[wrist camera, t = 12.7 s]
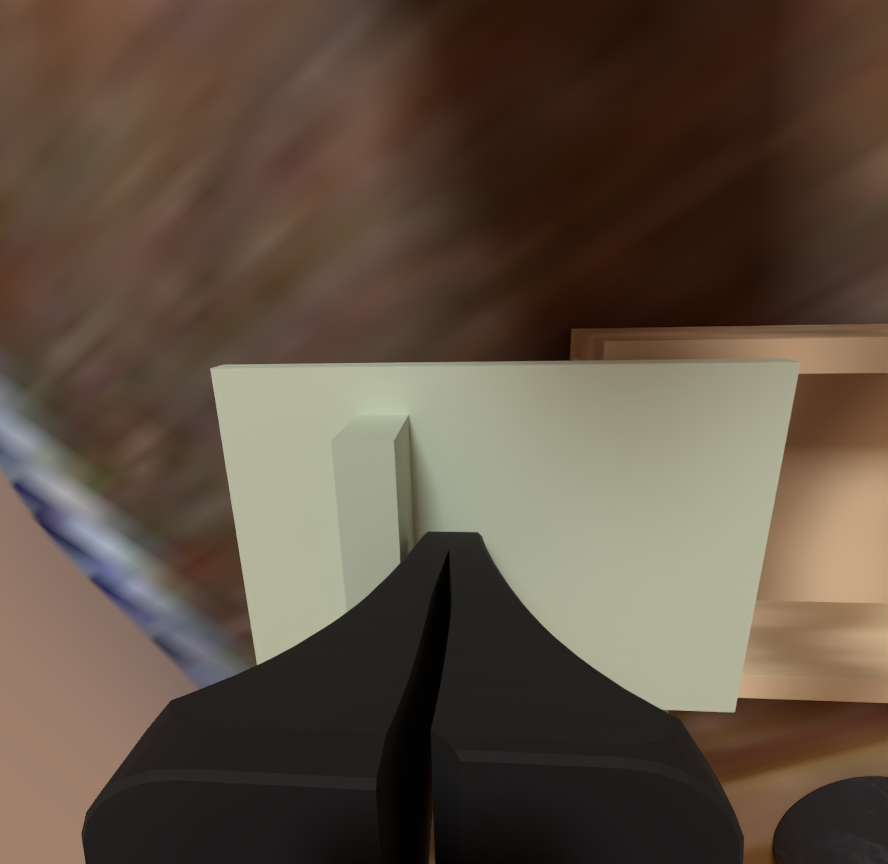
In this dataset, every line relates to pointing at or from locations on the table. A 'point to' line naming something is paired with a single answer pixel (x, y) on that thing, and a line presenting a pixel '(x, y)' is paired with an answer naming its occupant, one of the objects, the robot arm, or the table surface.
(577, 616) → the cabinet door
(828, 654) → the wooden box
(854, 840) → the travel mug
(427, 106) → the table surface
